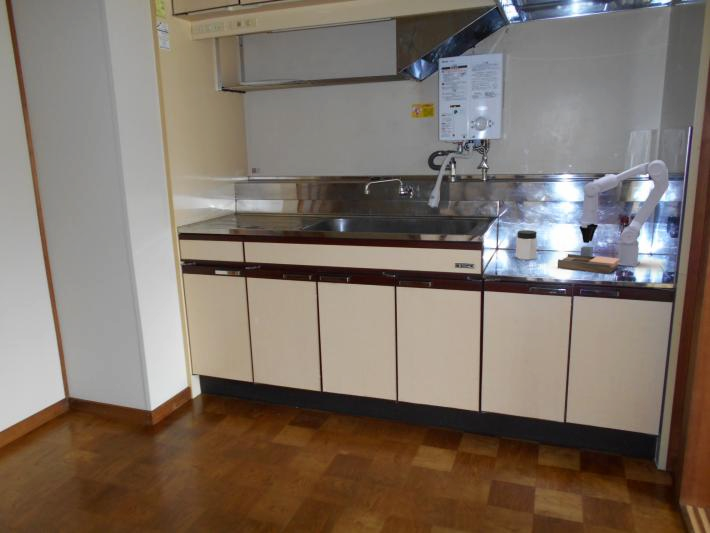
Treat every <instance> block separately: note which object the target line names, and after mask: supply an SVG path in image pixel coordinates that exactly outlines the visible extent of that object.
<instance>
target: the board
mask: <svg viewBox="0 0 710 533" xmlns="http://www.w3.org/2000/svg"><path fill="white" fill-rule="evenodd" d="M595 257H596V256H594V255H593V256H584V255H581V254H571V253H568V254H567V256H565V257H564V258H561V259H560V258H559V259H557V269H563V270H571V271H578V272H586V271H588V273H594V272H595V274H604V275H610V274H611V273H612V272H613V271H615V270H616V269H618V266H619V265H618V264H617V265H615V266H614V267H610V265H604V264H595V263H589V261H590V260H592V259H593V258H595Z"/></svg>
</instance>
